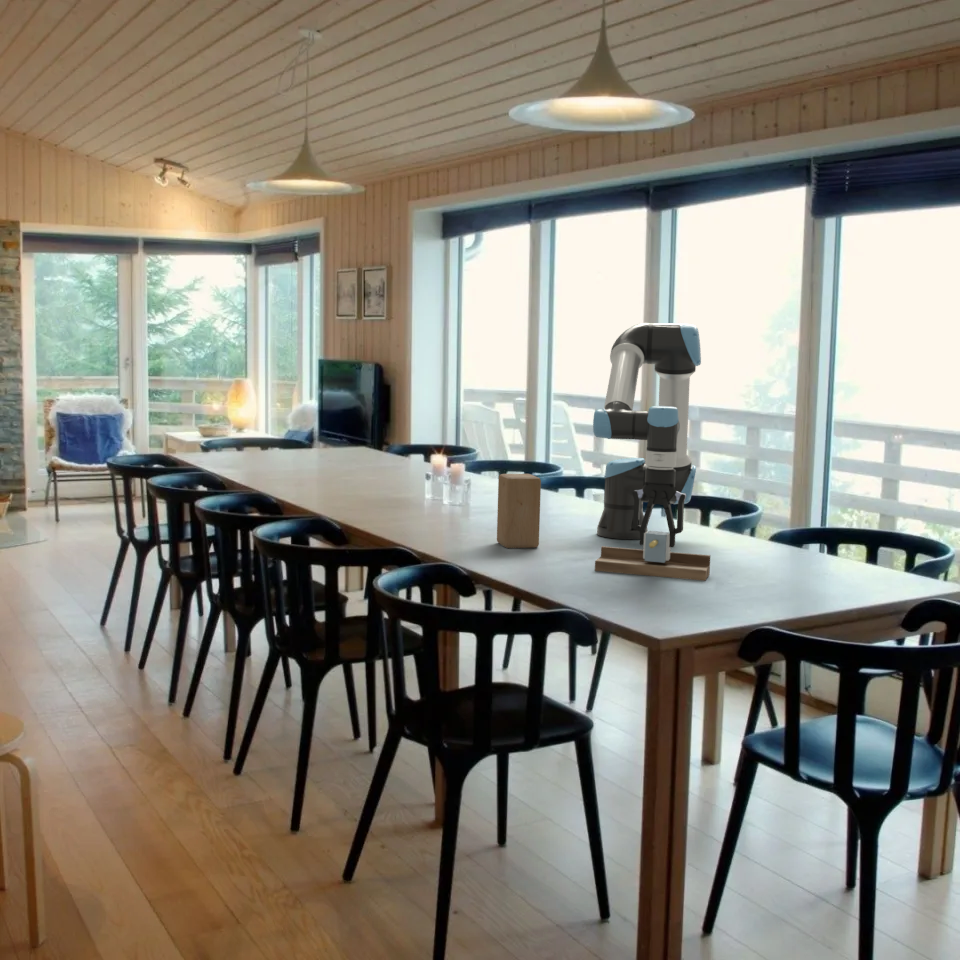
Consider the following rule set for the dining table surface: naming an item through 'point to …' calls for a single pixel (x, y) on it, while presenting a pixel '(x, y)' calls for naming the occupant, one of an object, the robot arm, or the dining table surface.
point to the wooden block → (518, 510)
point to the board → (653, 564)
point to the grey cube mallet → (655, 546)
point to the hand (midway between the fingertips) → (656, 558)
